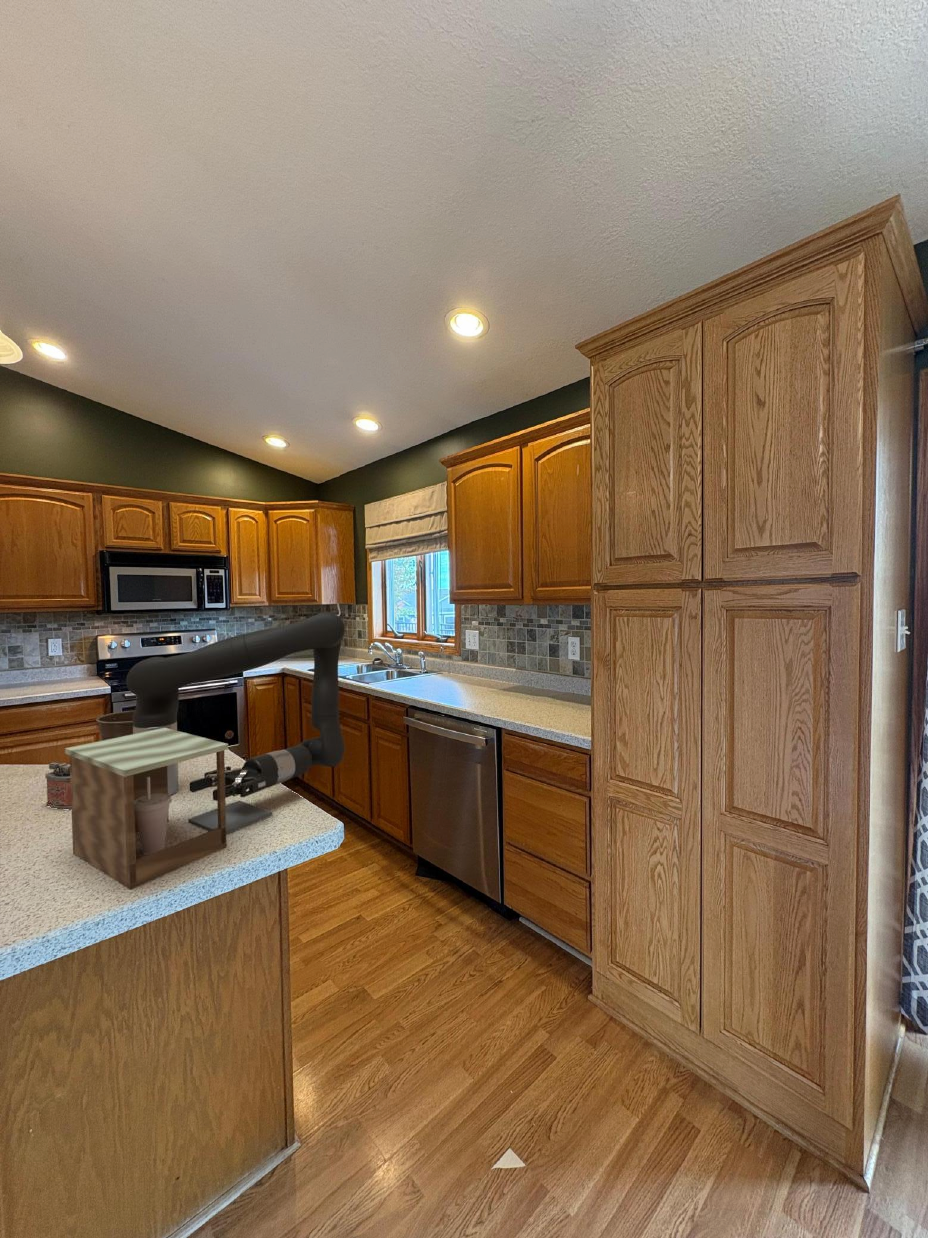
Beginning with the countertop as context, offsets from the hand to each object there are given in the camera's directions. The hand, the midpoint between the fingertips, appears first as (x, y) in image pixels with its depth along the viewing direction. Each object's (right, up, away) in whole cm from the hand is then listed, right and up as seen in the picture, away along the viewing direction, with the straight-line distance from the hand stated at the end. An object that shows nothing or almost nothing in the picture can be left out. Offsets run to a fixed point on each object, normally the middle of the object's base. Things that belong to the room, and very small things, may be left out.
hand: (201, 791), depth 106 cm
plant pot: (-36, -7, +35) cm, 51 cm away
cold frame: (-5, -8, -8) cm, 13 cm away
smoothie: (-5, -9, -8) cm, 13 cm away
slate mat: (+3, -8, +6) cm, 10 cm away
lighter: (-39, -8, +13) cm, 41 cm away
